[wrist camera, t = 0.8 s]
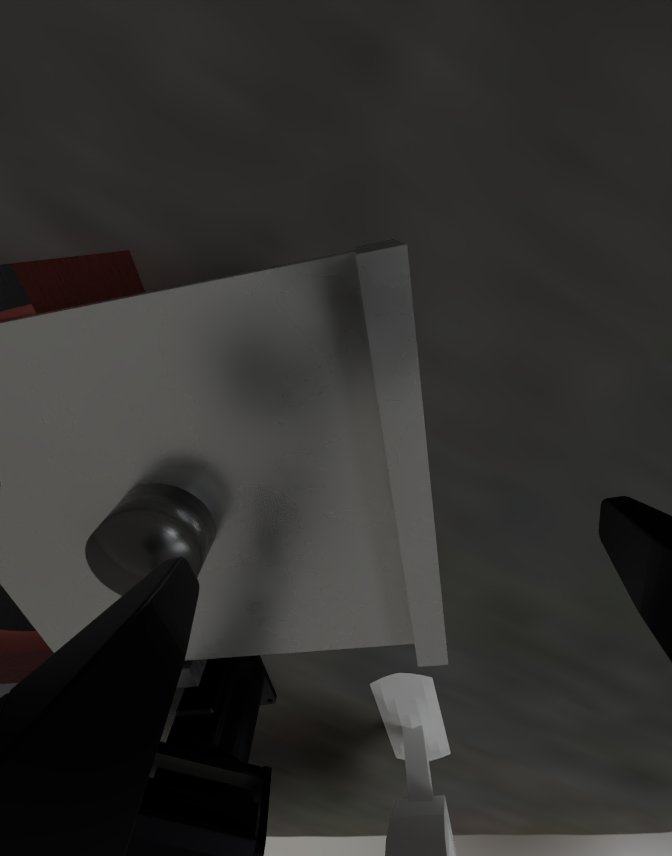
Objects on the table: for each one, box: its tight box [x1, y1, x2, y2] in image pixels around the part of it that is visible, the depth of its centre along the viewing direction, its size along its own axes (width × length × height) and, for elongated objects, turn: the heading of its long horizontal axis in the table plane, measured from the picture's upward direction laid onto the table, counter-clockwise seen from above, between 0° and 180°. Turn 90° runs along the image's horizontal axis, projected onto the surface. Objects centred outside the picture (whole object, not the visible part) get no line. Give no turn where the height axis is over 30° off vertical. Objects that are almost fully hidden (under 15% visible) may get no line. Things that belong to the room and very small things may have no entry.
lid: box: [0, 239, 448, 667], centre depth 15 cm, size 16×18×5 cm
